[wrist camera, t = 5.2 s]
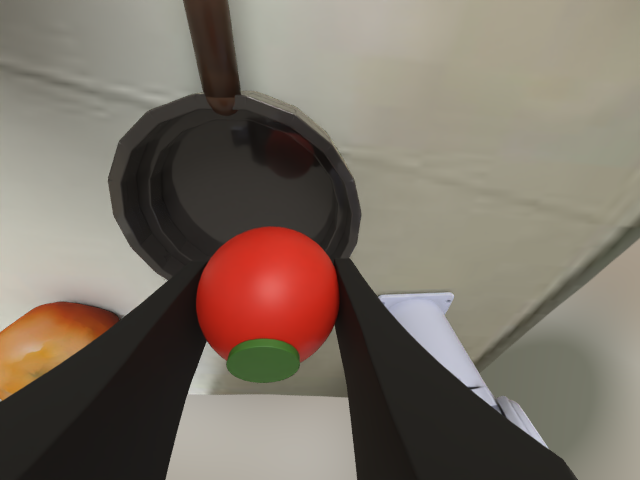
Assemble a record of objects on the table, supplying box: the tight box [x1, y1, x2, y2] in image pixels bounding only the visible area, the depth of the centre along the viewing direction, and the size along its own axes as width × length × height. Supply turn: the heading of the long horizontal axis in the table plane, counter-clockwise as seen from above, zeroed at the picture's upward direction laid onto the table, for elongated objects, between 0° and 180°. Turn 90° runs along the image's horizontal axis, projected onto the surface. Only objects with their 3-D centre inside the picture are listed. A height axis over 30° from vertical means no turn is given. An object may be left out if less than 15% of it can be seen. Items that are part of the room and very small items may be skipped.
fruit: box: [0, 302, 120, 401], centre depth 21 cm, size 8×8×8 cm
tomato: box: [196, 227, 340, 383], centre depth 9 cm, size 5×5×5 cm
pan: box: [108, 91, 361, 280], centre depth 16 cm, size 14×14×4 cm
